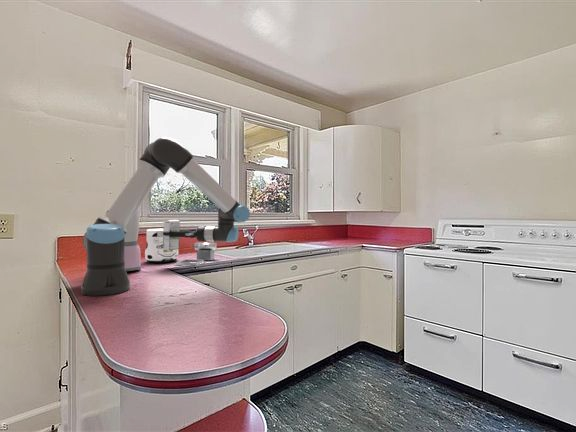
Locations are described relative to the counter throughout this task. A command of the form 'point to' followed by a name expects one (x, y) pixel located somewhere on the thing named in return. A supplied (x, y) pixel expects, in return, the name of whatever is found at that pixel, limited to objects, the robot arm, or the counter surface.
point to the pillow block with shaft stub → (205, 250)
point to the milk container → (158, 248)
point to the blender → (132, 244)
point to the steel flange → (187, 262)
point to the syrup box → (171, 242)
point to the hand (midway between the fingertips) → (162, 233)
